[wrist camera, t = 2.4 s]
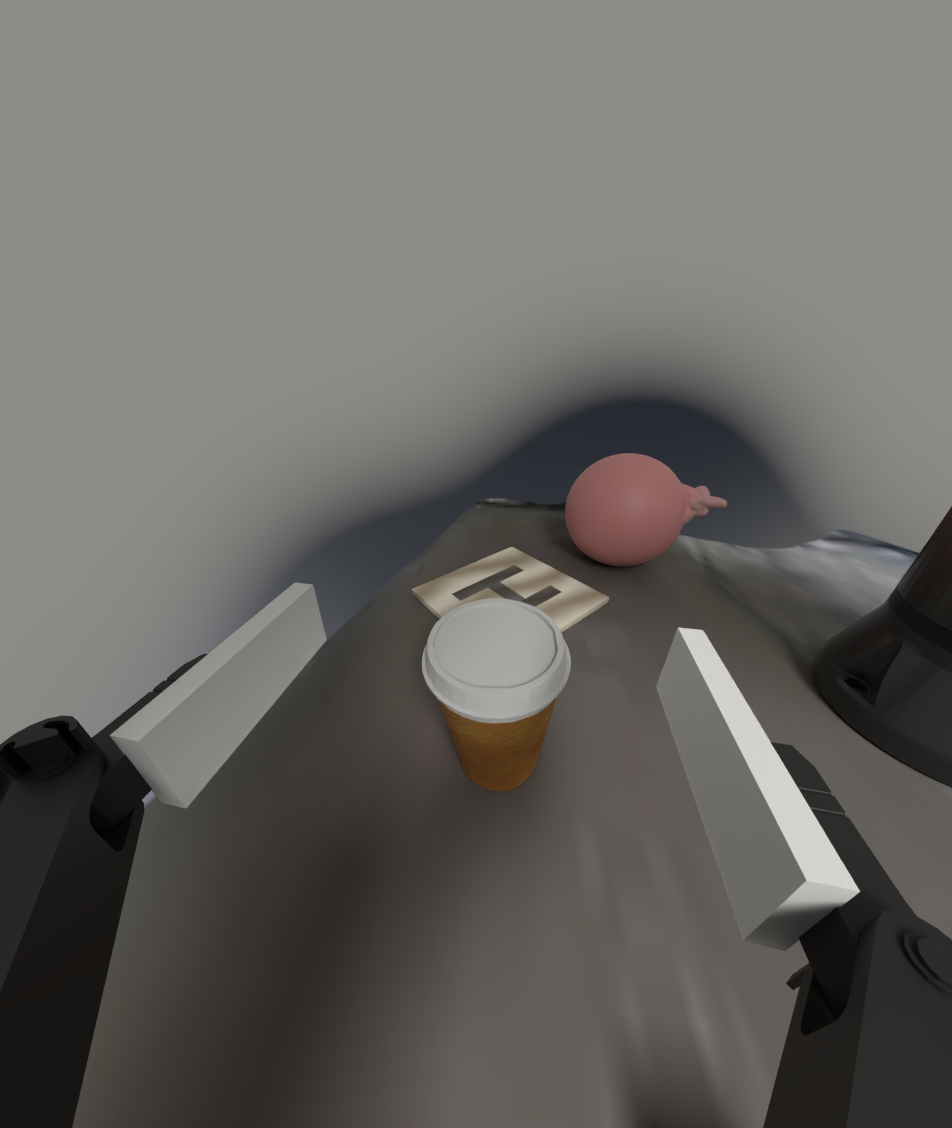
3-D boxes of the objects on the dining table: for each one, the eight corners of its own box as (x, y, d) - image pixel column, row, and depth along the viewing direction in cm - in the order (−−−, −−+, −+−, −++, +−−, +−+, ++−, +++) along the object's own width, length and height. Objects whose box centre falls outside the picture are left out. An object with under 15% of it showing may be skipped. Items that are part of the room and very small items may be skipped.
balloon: (720, 601, 43) (767, 478, 35) (555, 579, 49) (563, 469, 41) (696, 544, 55) (727, 443, 47) (566, 532, 61) (575, 441, 53)
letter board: (608, 602, 44) (609, 597, 43) (497, 674, 35) (497, 668, 34) (511, 550, 56) (511, 546, 56) (412, 594, 48) (411, 589, 47)
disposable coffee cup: (528, 688, 33) (533, 584, 27) (582, 791, 25) (605, 676, 19) (429, 716, 31) (410, 610, 25) (454, 837, 23) (433, 725, 17)
